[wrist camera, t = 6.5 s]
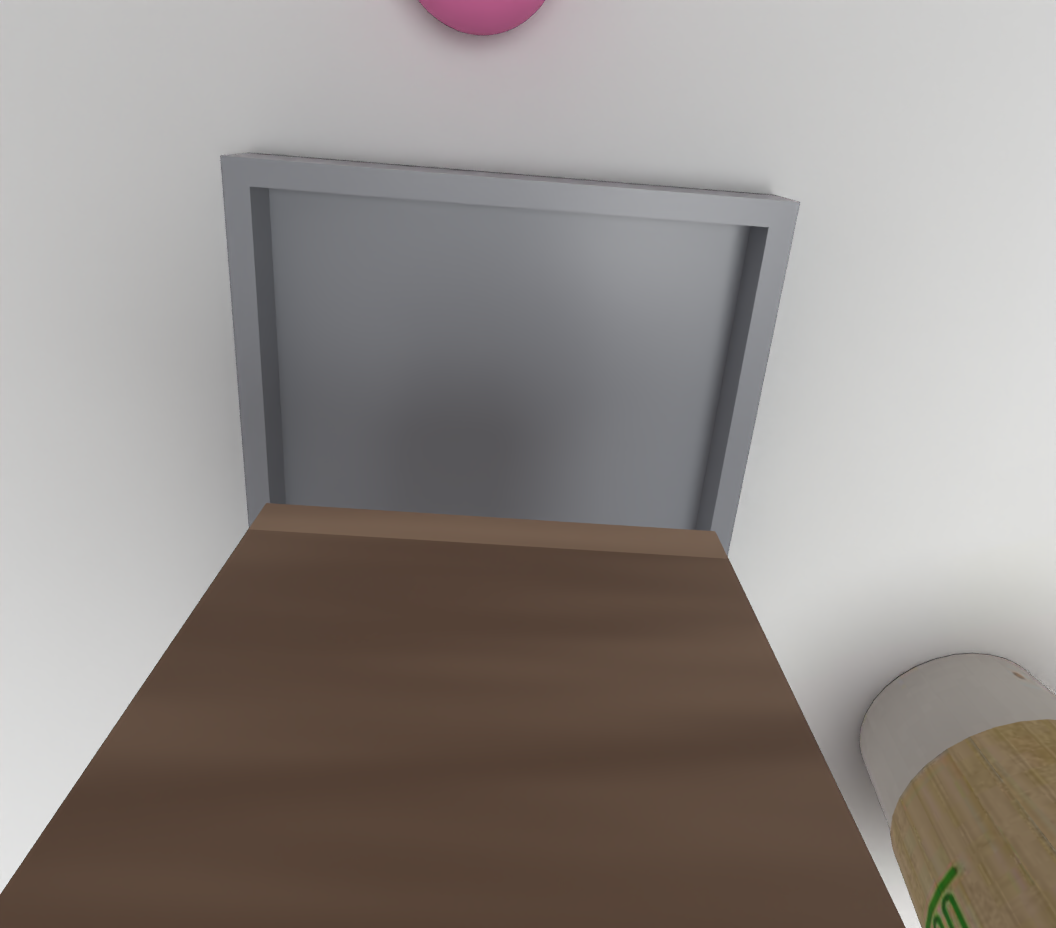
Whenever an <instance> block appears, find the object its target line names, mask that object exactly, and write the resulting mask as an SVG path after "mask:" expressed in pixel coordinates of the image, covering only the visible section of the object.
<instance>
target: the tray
mask: <svg viewBox="0 0 1056 928" xmlns="http://www.w3.org/2000/svg"><path fill="white" fill-rule="evenodd" d="M220 157H221V170H222V184H223V197H224V210H225V223H226V236H227V249H228V262H229V275H230V288H231V301H232V314H233V327H234V340H235V353H236V366H237V379H238V392H239V405H240V418H241V431H242V445H243V458H244V471H245V484H246V497H247V510H248V523H249V528H250V526H251V525H252V523H253V522H254V520H255V519H256V517H257V516H258V514H259V513H260V511H261V510H262V508H263V507H264V505H265V504H266V503H274V504H290V505H305V506H321V507H337V508H353V509H369V510H385V511H401V512H417V513H433V514H449V515H465V516H481V517H497V518H512V519H528V520H544V521H560V522H576V523H592V524H608V525H624V526H640V527H656V528H672V529H688V530H704V531H715V532H716V534H717V536H718V538H719V540H720V542H721V544H722V546H723V548H724V551H725V553H726V555H727V556H728V551H729V546H730V541H731V537H732V532H733V527H734V522H735V517H736V512H737V507H738V502H739V498H740V493H741V488H742V483H743V478H744V473H745V468H746V463H747V459H748V454H749V449H750V444H751V439H752V434H753V429H754V424H755V420H756V415H757V410H758V405H759V400H760V395H761V390H762V385H763V381H764V376H765V371H766V366H767V361H768V356H769V351H770V346H771V342H772V337H773V332H774V327H775V322H776V317H777V312H778V307H779V303H780V298H781V293H782V288H783V283H784V278H785V273H786V268H787V264H788V259H789V254H790V249H791V244H792V239H793V234H794V229H795V225H796V220H797V215H798V210H799V205H800V202H798V201H795V200H791V199H787V198H783V197H780V196H776V195H769V194H756V193H744V192H731V191H719V190H707V189H694V188H682V187H669V186H657V185H644V184H632V183H619V182H607V181H595V180H582V179H570V178H557V177H545V176H532V175H520V174H507V173H495V172H483V171H470V170H458V169H445V168H433V167H420V166H408V165H395V164H383V163H371V162H358V161H346V160H333V159H321V158H308V157H296V156H283V155H271V154H259V153H242V154H232V155H221V156H220Z"/></svg>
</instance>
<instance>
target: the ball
mask: <svg viewBox="0 0 1056 928" xmlns="http://www.w3.org/2000/svg"><path fill="white" fill-rule="evenodd" d="M544 1H545V0H419V2H420V3H421V4H422V5H423V6H424V7H425V9H426V10H427V11H428V12H429V13H430V14H432V15H433V16H434V17H435V18H436V19H438V20H439V21H441V22H442V23H444V24H445V25H447V26H449V27H451V28H453V29H455V30H457V31H461V32H464V33H467V34H473V35H493V34H499V33H502V32H506V31H508V30H511V29H513V28H515V27H517V26H519V25H520V24H522V23H523V22H525V21H526V20H527V19H529V18H530V17H531V16H532V15H533V14H534V13H535V12H536V11H537V10H538V9H539V8H540V7H541V5H542V4H543V3H544Z"/></svg>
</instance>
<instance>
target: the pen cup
mask: <svg viewBox="0 0 1056 928" xmlns="http://www.w3.org/2000/svg"><path fill="white" fill-rule="evenodd" d="M0 928H905V926H904V923H903V921H902V919H901V917H900V915H899V913H898V911H897V909H896V907H895V905H894V903H893V901H892V898H891V896H890V894H889V892H888V890H887V888H886V886H885V884H884V882H883V880H882V878H881V876H880V873H879V871H878V869H877V867H876V865H875V863H874V861H873V859H872V857H871V855H870V853H869V851H868V848H867V846H866V844H865V842H864V840H863V838H862V836H861V834H860V832H859V830H858V828H857V826H856V823H855V821H854V819H853V817H852V815H851V813H850V811H849V809H848V807H847V805H846V803H845V801H844V798H843V796H842V794H841V792H840V790H839V788H838V786H837V784H836V782H835V780H834V778H833V776H832V773H831V771H830V769H829V767H828V765H827V763H826V761H825V759H824V757H823V755H822V753H821V751H820V748H819V746H818V744H817V742H816V740H815V738H814V736H813V734H812V732H811V730H810V728H809V726H808V723H807V721H806V719H805V717H804V715H803V713H802V711H801V709H800V707H799V705H798V703H797V701H796V698H795V696H794V694H793V692H792V690H791V688H790V686H789V684H788V682H787V680H786V678H785V676H784V673H783V671H782V669H781V667H780V665H779V663H778V661H777V659H776V657H775V655H774V653H773V651H772V648H771V646H770V644H769V642H768V640H767V638H766V636H765V634H764V632H763V630H762V628H761V626H760V623H759V621H758V619H757V617H756V615H755V613H754V611H753V609H752V607H751V605H750V603H749V601H748V598H747V596H746V594H745V592H744V590H743V588H742V586H741V584H740V582H739V580H738V578H737V576H736V573H735V571H734V569H733V567H732V565H731V563H730V561H729V559H728V557H727V555H726V553H725V551H724V548H723V546H722V544H721V542H720V540H719V538H718V536H717V534H716V532H715V531H704V530H688V529H672V528H656V527H640V526H624V525H608V524H592V523H576V522H560V521H544V520H528V519H512V518H497V517H481V516H465V515H449V514H433V513H417V512H401V511H385V510H369V509H353V508H337V507H321V506H305V505H290V504H274V503H266V504H265V505H264V507H263V508H262V510H261V511H260V513H259V514H258V516H257V517H256V519H255V520H254V522H253V523H252V525H251V526H250V528H249V529H248V530H247V532H246V533H245V535H244V536H243V538H242V539H241V541H240V542H239V544H238V545H237V547H236V548H235V550H234V551H233V553H232V554H231V555H230V557H229V558H228V560H227V561H226V563H225V564H224V566H223V567H222V569H221V570H220V572H219V573H218V575H217V576H216V578H215V579H214V581H213V582H212V583H211V585H210V586H209V588H208V589H207V591H206V592H205V594H204V595H203V597H202V598H201V600H200V601H199V603H198V604H197V606H196V607H195V609H194V610H193V611H192V613H191V614H190V616H189V617H188V619H187V620H186V622H185V623H184V625H183V626H182V628H181V629H180V631H179V632H178V634H177V635H176V636H175V638H174V639H173V641H172V642H171V644H170V645H169V647H168V648H167V650H166V651H165V653H164V654H163V656H162V657H161V659H160V660H159V662H158V663H157V664H156V666H155V667H154V669H153V670H152V672H151V673H150V675H149V676H148V678H147V679H146V681H145V682H144V684H143V685H142V687H141V688H140V690H139V691H138V692H137V694H136V695H135V697H134V698H133V700H132V701H131V703H130V704H129V706H128V707H127V709H126V710H125V712H124V713H123V715H122V716H121V717H120V719H119V720H118V722H117V723H116V725H115V726H114V728H113V729H112V731H111V732H110V734H109V735H108V737H107V738H106V740H105V741H104V743H103V744H102V745H101V747H100V748H99V750H98V751H97V753H96V754H95V756H94V757H93V759H92V760H91V762H90V763H89V765H88V766H87V768H86V769H85V771H84V772H83V773H82V775H81V776H80V778H79V779H78V781H77V782H76V784H75V785H74V787H73V788H72V790H71V791H70V793H69V794H68V796H67V797H66V798H65V800H64V801H63V803H62V804H61V806H60V807H59V809H58V810H57V812H56V813H55V815H54V816H53V818H52V819H51V821H50V822H49V824H48V825H47V826H46V828H45V829H44V831H43V832H42V834H41V835H40V837H39V838H38V840H37V841H36V843H35V844H34V846H33V847H32V849H31V850H30V852H29V853H28V854H27V856H26V857H25V859H24V860H23V862H22V863H21V865H20V866H19V868H18V869H17V871H16V872H15V874H14V875H13V877H12V878H11V879H10V881H9V882H8V884H7V885H6V887H5V888H4V890H3V891H2V893H1V894H0Z"/></svg>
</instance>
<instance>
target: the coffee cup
mask: <svg viewBox="0 0 1056 928" xmlns="http://www.w3.org/2000/svg"><path fill="white" fill-rule="evenodd" d="M859 743H860V749H861V755H862V757H863V760H864V763H865V765H866V768H867V770H868V773H869V776H870V778H871V781H872V784H873V786H874V789H875V791H876V794H877V797H878V799H879V802H880V805H881V807H882V810H883V812H884V815H885V818H886V820H887V823H888V826H889V828H890V835H891V841H892V847H893V851H894V854H895V857H896V859H897V862H898V865H899V867H900V870H901V873H902V876H903V878H904V881H905V884H906V886H907V889H908V892H909V895H910V897H911V900H912V903H913V905H914V908H915V911H916V913H917V916H918V919H919V922H920V924H921V927H922V928H1056V695H1054V694H1053V693H1052V692H1051V691H1050V690H1048V689H1047V688H1046V687H1045V686H1044V685H1042V684H1041V683H1040V682H1039V681H1038V680H1036V679H1035V678H1034V677H1033V676H1032V675H1031V674H1029V673H1028V672H1027V671H1026V670H1025V669H1023V668H1022V667H1021V666H1019V665H1017V664H1015V663H1013V662H1011V661H1009V660H1007V659H1004V658H1000V657H997V656H993V655H986V654H974V653H970V654H958V655H951V656H947V657H942V658H938V659H934V660H931V661H929V662H926V663H924V664H921V665H919V666H916V667H915V668H913V669H911V670H909V671H908V672H906V673H904V674H902V675H901V676H899V677H898V678H897V679H895V680H894V681H893V682H892V683H890V684H889V685H888V686H887V687H885V689H884V690H883V691H882V692H881V693H880V694H879V695H878V696H877V697H876V699H875V700H874V701H873V703H872V704H871V706H870V708H869V709H868V711H867V713H866V714H865V717H864V720H863V723H862V726H861V730H860V740H859Z"/></svg>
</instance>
